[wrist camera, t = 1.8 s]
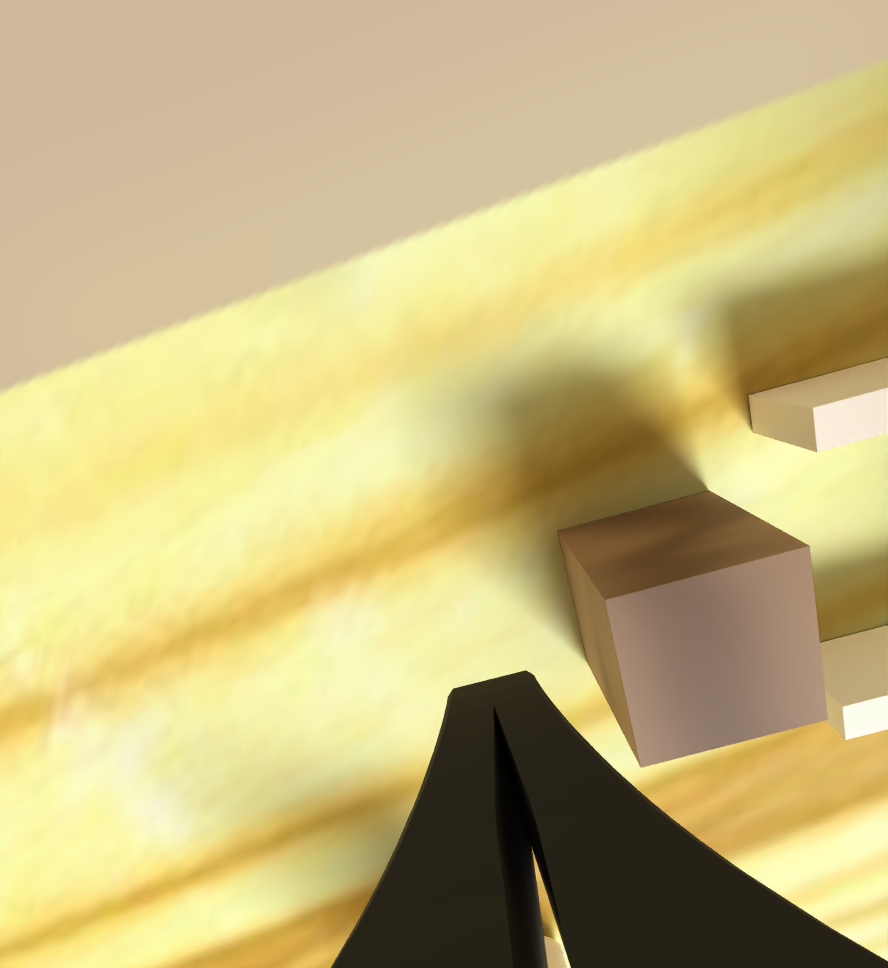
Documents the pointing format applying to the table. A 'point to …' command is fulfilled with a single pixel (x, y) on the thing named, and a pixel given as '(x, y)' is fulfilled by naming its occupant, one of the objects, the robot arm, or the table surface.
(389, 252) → the table surface
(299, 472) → the table surface
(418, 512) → the table surface
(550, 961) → the eye dropper bottle
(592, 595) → the walnut cube
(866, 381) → the dock
